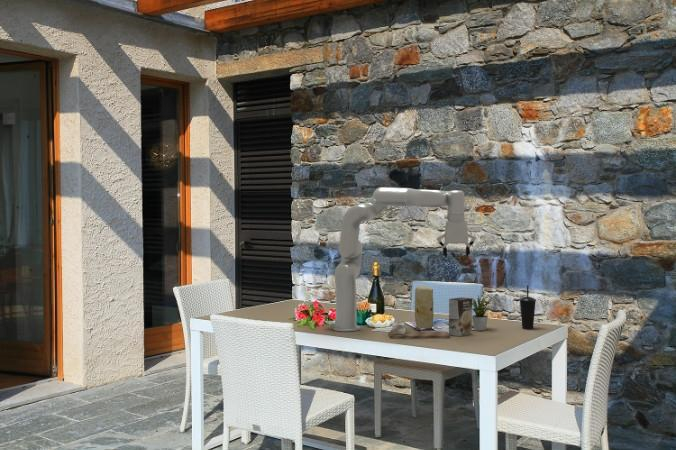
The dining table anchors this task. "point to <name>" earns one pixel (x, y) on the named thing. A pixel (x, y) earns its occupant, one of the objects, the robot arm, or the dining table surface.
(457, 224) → the robot arm
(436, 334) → the board
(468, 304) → the coffee box
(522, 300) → the drinking cup
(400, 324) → the bead
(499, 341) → the dining table surface
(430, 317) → the food model
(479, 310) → the house plant
